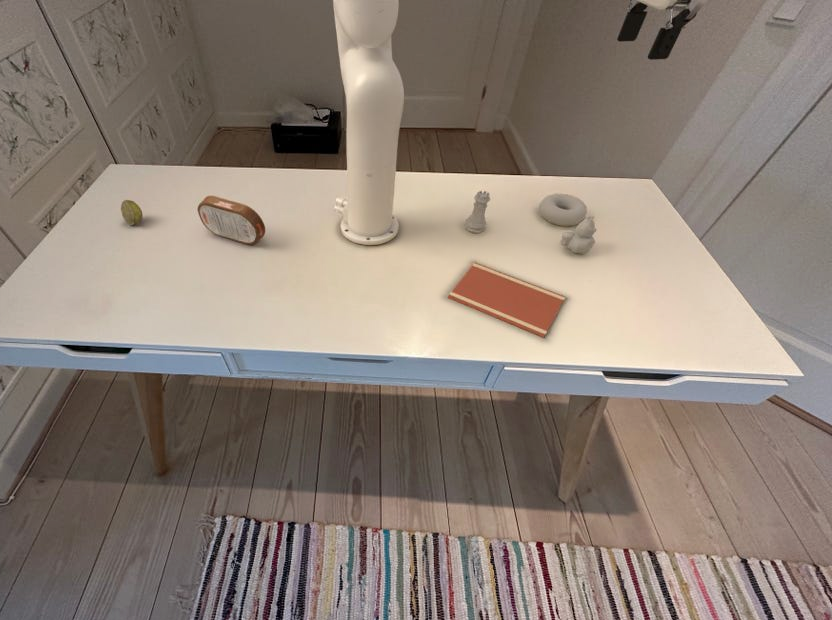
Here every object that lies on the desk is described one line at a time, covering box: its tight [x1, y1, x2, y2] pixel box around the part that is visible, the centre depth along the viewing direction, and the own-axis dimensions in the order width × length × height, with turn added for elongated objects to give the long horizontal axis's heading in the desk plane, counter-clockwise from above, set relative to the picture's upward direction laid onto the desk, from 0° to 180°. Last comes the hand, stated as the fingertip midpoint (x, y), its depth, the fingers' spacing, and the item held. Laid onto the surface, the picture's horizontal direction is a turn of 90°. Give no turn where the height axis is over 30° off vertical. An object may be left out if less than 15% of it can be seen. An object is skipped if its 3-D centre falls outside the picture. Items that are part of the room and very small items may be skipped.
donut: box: [538, 193, 588, 227], centre depth 93 cm, size 10×4×10 cm
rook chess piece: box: [464, 190, 491, 234], centre depth 89 cm, size 4×4×8 cm
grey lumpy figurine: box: [559, 215, 597, 254], centre depth 84 cm, size 5×7×8 cm
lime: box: [120, 199, 144, 226], centre depth 92 cm, size 4×5×5 cm
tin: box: [197, 195, 266, 246], centre depth 87 cm, size 15×3×8 cm, turn 65°
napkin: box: [447, 262, 566, 339], centre depth 78 cm, size 18×12×1 cm, turn 56°
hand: (640, 49), depth 70 cm, fingers open, 9 cm apart
